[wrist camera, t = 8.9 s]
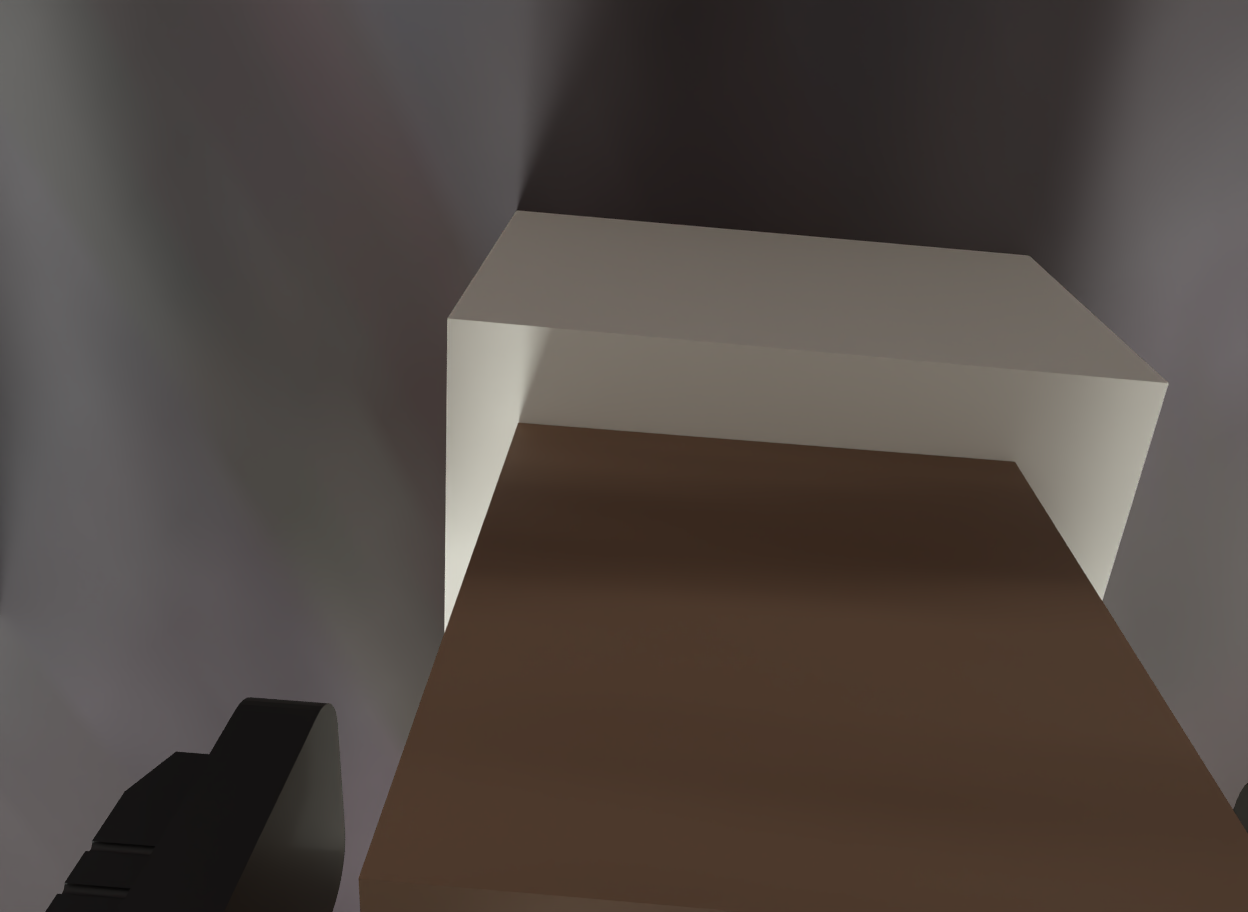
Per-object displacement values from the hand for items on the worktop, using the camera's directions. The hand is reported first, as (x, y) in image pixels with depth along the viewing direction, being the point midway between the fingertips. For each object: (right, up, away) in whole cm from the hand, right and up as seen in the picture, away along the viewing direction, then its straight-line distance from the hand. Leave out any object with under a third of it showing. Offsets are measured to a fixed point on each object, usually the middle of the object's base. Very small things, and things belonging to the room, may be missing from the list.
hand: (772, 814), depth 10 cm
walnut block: (0, +1, +2) cm, 3 cm away
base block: (0, +3, +7) cm, 7 cm away
